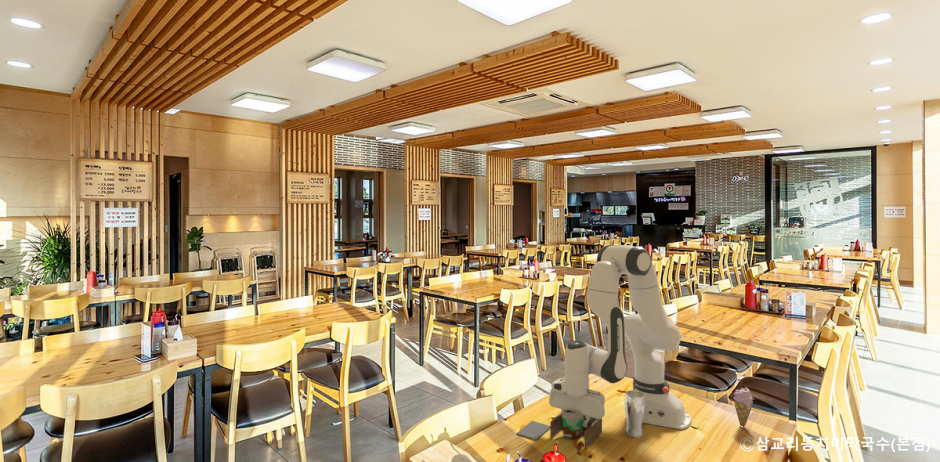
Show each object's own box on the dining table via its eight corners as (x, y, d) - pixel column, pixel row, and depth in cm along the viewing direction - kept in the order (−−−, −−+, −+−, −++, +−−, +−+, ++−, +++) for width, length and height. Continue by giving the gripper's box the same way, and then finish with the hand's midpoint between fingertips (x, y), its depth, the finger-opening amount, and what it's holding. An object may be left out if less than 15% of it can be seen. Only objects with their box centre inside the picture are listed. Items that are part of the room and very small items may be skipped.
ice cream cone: (757, 429, 170) (758, 390, 170) (745, 432, 168) (746, 392, 167) (740, 421, 176) (741, 383, 176) (729, 424, 174) (730, 386, 173)
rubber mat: (551, 427, 172) (551, 426, 172) (536, 440, 162) (536, 439, 162) (532, 421, 177) (532, 420, 177) (516, 434, 167) (516, 433, 167)
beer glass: (621, 429, 171) (622, 389, 170) (640, 429, 170) (641, 390, 170) (627, 438, 164) (628, 397, 163) (647, 438, 163) (648, 397, 163)
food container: (577, 444, 159) (578, 416, 159) (561, 439, 163) (561, 412, 162) (591, 431, 169) (591, 404, 169) (575, 426, 173) (575, 400, 172)
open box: (601, 431, 169) (602, 415, 168) (586, 449, 156) (586, 432, 156) (567, 421, 177) (567, 406, 176) (550, 438, 164) (550, 421, 164)
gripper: (607, 390, 162) (607, 428, 163) (554, 377, 174) (554, 413, 174) (601, 396, 157) (601, 435, 157) (547, 383, 169) (546, 419, 169)
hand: (576, 423), depth 166 cm, fingers closed on food container, 6 cm apart
